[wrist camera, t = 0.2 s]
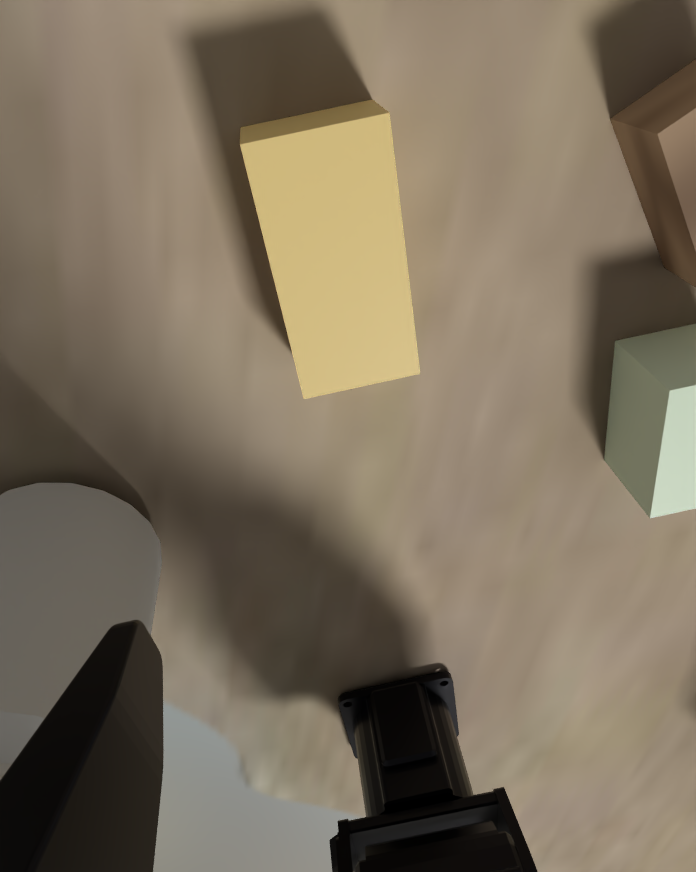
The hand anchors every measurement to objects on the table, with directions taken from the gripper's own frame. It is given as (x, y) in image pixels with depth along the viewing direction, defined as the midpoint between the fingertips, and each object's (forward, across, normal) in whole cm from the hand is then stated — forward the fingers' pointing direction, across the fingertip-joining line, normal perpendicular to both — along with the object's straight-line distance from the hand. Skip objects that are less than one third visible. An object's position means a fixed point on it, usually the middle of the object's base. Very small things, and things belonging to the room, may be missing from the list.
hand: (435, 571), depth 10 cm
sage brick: (+14, -12, +8) cm, 21 cm away
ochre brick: (+15, 0, -1) cm, 15 cm away
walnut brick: (+14, -12, 0) cm, 19 cm away
